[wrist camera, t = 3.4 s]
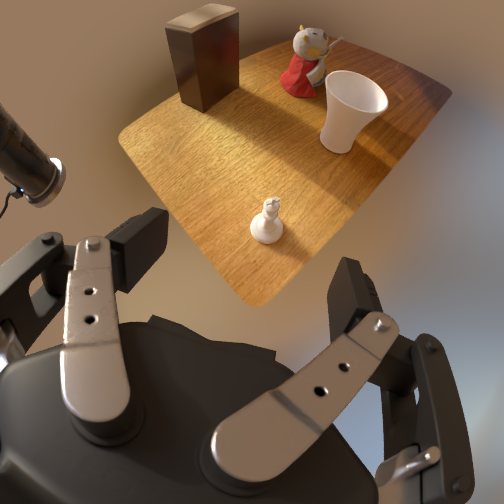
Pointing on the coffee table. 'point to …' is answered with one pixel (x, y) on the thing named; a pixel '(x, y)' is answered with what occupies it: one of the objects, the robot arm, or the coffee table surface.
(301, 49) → the figurine
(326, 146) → the cup
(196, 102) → the rectangular box
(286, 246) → the coffee table surface
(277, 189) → the coffee table surface
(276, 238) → the chess piece
